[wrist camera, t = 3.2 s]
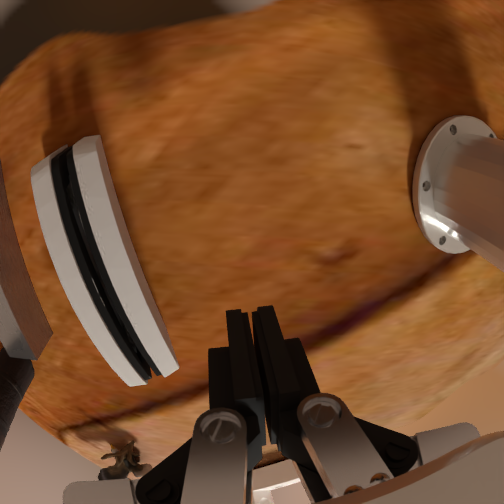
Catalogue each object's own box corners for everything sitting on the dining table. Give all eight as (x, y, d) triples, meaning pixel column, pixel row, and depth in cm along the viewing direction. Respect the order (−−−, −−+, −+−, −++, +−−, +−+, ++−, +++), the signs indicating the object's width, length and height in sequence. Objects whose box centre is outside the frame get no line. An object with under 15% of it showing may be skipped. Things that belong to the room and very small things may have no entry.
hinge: (44, 155, 17) (-7, 158, 8) (101, 133, 18) (86, 116, 10) (117, 338, 24) (128, 422, 15) (164, 320, 25) (194, 398, 17)
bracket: (252, 476, 41) (262, 512, 35) (232, 475, 36) (242, 515, 30) (321, 454, 39) (334, 491, 33) (308, 451, 35) (324, 495, 29)
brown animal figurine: (89, 432, 29) (88, 465, 30) (112, 478, 24) (108, 504, 25) (140, 426, 35) (132, 458, 36) (167, 466, 30) (155, 493, 31)
